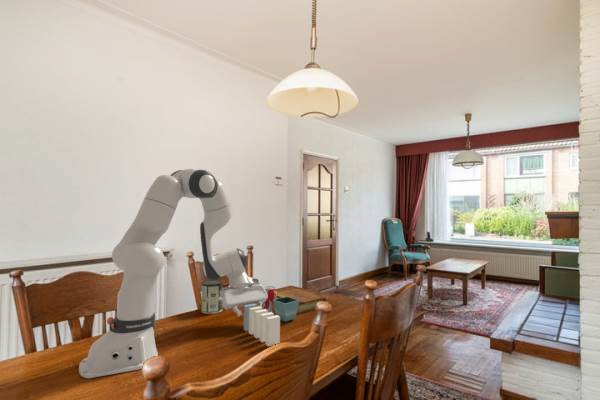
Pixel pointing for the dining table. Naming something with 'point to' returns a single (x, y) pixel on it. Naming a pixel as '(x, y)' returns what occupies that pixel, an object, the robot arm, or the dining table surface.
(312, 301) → the diary
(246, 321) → the tile
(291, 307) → the flower pot
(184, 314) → the dining table surface
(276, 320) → the tile
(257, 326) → the tile
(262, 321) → the tile
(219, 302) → the coffee can
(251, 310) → the tile
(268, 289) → the soda can
